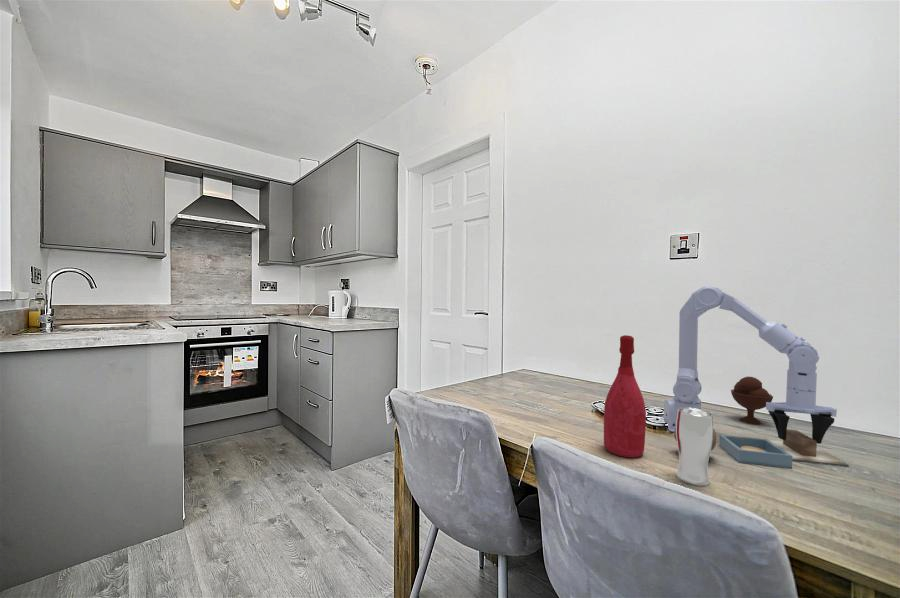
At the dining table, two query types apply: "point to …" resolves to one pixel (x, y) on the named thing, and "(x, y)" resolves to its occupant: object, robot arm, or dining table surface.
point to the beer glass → (694, 444)
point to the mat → (821, 462)
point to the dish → (755, 451)
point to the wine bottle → (625, 408)
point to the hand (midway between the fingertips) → (799, 440)
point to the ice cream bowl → (750, 397)
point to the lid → (804, 448)
